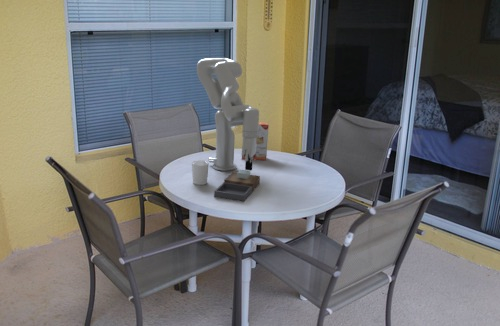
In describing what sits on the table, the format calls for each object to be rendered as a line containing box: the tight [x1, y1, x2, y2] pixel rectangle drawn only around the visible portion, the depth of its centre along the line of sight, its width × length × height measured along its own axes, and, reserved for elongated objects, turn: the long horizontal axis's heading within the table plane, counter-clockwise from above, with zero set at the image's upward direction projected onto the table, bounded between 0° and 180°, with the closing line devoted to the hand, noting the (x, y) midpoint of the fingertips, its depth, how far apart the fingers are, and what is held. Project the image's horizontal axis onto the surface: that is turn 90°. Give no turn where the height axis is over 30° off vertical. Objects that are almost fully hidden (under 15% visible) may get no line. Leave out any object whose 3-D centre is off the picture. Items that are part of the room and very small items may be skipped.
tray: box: [213, 181, 253, 203], centre depth 223 cm, size 14×12×3 cm
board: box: [223, 171, 261, 193], centre depth 235 cm, size 14×12×4 cm
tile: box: [236, 169, 251, 179], centre depth 236 cm, size 5×5×2 cm
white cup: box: [191, 160, 210, 186], centre depth 236 cm, size 8×8×10 cm
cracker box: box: [241, 121, 270, 161], centre depth 276 cm, size 14×6×21 cm, turn 90°
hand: (248, 169), depth 243 cm, fingers closed
